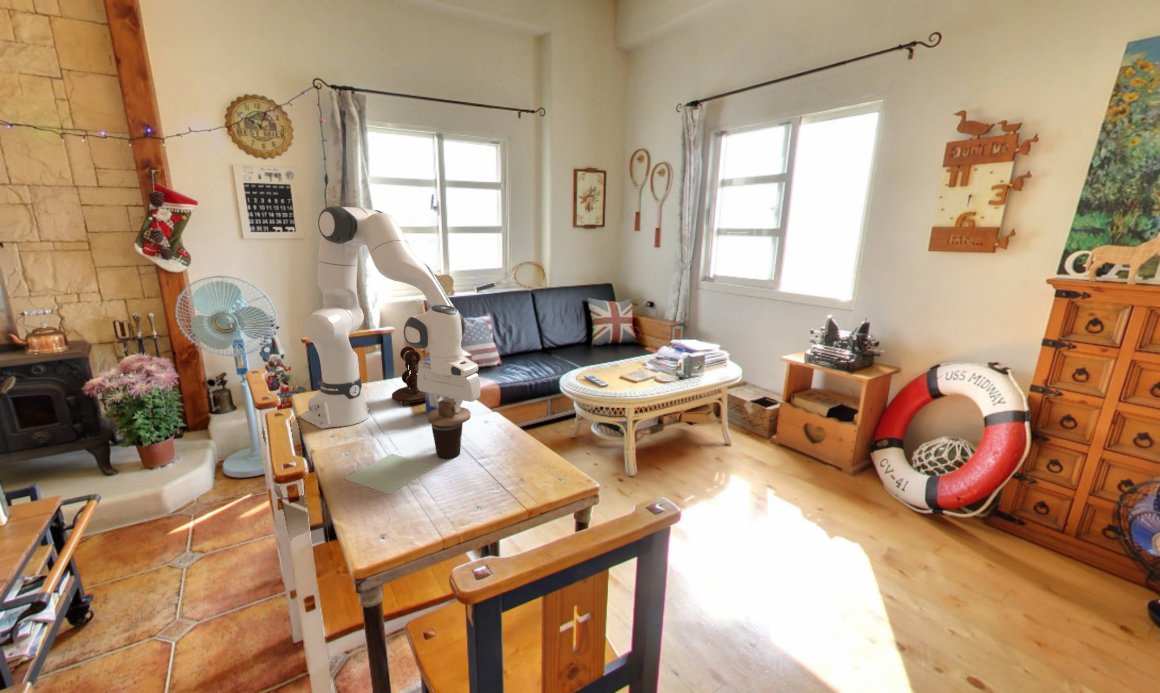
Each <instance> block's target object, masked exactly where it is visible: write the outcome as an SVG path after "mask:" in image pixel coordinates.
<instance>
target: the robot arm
mask: <svg viewBox="0 0 1160 693" xmlns="http://www.w3.org/2000/svg"><path fill="white" fill-rule="evenodd" d="M317 220H318V222H317V223H318V230H319V232H320V234H321V238H320V241H319V249H318V260H317V262H318V263H317V286H318V288H319V289H320V291H321V292H322V296H323V301H324V306H323V307H322V308H318V309H317V310H314V311H313V312H312V313H311V314H309V315H308V316H307V317H306V318H305V320H304V322H303V325H302V330H303V333H304V335H305V337H306V339H308V341H310V342H311V343H313V346H314V348H315V349H316V353H317V354H318V358H319V361H320V369H321V376H322V378H321V379H322V380H317V385H320V388H319V391H318V392H316V394H314V395H313V396H312V397H311V398H309V400H308V402H307V410H306V411H305V412H302V413H301V414H300V418H301V419H302V420H304V421H306V422H308V423H309V422H310V423H309V424H311V423H312V424H311V425H313V424H314V425H313V426H315V425H316V426H315V427H316V428H319V429H328V428H329V429H330V428H336V427H340V426H341V427H347V426H352V425H356V424H359V423H361V422H363V421H365V420H366V419H368V417H369V412H370V407H369V406H367V401H366V396H365V393H364V389H362V388H363V384H362V383H363V380H362V377H361V376H360V368H359V366H360V365H359V359H358V358H359V356H358V354H357V353H356V351H354V350H353V348H352V345H351V342H350V339H349V336H350V335H352V334H354V333H356V332H357V331H358V329H359V328H360V327H362V324H363V323H364V321H365V315H364V312H363V310H362V308H361V307H360V302H359V297H358V290H357V289H358V288H357V284H358V282H357V281H358V280H357V279H358V260H359V259H358V258H359V256H358V255H359V254H358V253H359V249H360V248H361V247H363V246H366V247H367V250H368V252H369V255H370V257H371V260H372V262H373V264H374V267H375V268H376V270H377V271H378V272H379V273H380V275H382V276H383V277H385V278H387V279H388V280H391V281H395V282H400V283H403V284H407V285H410V286H412V287H414V288H417V289H418V290H419V291H420V292H421V293H422V294H423V296H424V297H425V299H426V301H427V302H428V304H429V305H430V307H429V309H428V310H426V311H425V312H423V313H421V314H416V315H413V316H410V317H409V318H408V319H406V321H405V323H404V327H403V335H404V339H405V341H406V343H407V344H408V345H409V346H410V347H412V348H414V349H417V350H418V349H420V350H421V349H429V357H430V361H428V360H423V359H421V360H420V361H419V364H418V368H419V370H418V376H417V387H418V389H419V390H420V391H423V392H428V393H432V394H433V395H434V399H435V400H436V402H437V408H438V402H439V401H442V397H441V396H446V397H451V398H454V399H455V402H456V404H455V406H452V409H453V410H452V411H453V412H456V413H458V412H460V407H461V405H462V404H463V402H469V403H472V402H475V401H477V400H478V399H479V398H480V397H481V381H480V377H479V375H478V373H477V372H478V371H479V365H478V364H477V363H476V362H475V361H472V360H470V359H469V358H467V357H466V356H464V354H463V349H462V340H463V337H464V335H465V332H466V327H467V326H466V321H465V319H464V317H463V315H462V314H461V313H460V311H459V310H458V309H457V308H456V307H455V305H454V304H453V303H452V301H451V299H450V298H449V296H448V294H447V293H446V291H445V289H444V288H443V286H442V284H441V283H440V281H439V280H438V278H437V277H436V275H435V274H434V272H433V271H432V269H431V268H430V267H429V266H428V264H426V263H424V262H423V261H422V260H421V259H420V258H419V257H418V256H417V255H416V254H415V252H414V251H413V250H412V248H411V246H410V244H409V242H408V239H407V238H406V235H405V233H404V231H403V229H402V228H401V227H400V225H399V223H398V222H397V221H396V220H395V218H394V217H393V216H392V215H390V214H388V213H386V212H383V211H380V210H378V209H370V208H365V207H359V206H356V207H353V206H352V207H351V206H340V205H333V206H327V207H325V208H323V209H322V211H321V212H320V214H319V216H318V219H317Z"/></svg>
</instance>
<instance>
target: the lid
mask: <svg viewBox="0 0 1160 693" xmlns="http://www.w3.org/2000/svg"><path fill="white" fill-rule="evenodd" d="M455 404H456V402H455V399H451V398H446V399H444V400H442V401H439V402H438V409H435V410H433V411H431V412H429V413H428V414H427V415H426V417H427V422H428V423H429V424H431V425H432V424H433V425H438V426H452V425H457V424H461V423H465V422H467V421H469V420H470V419H471V417H472V416H471V415H472V414H471V410H469V409H468V408H465V407H461V406H460V412H458V413H456V412H453V411H452V410H453V409H452V406H455Z"/></svg>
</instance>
